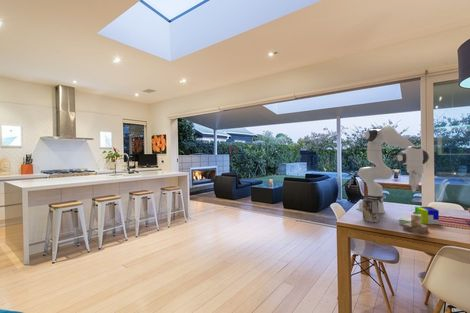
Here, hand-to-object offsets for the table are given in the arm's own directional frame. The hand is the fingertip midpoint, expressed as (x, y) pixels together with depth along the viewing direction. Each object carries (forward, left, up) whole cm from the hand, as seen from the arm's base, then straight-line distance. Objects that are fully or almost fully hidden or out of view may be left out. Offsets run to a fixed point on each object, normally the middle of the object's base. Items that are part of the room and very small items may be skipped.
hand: (415, 190), depth 158 cm
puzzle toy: (-3, +25, -27) cm, 37 cm away
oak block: (+1, -1, -23) cm, 23 cm away
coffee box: (-28, -4, -27) cm, 39 cm away
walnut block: (0, -1, -27) cm, 27 cm away
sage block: (-7, +10, -27) cm, 30 cm away
